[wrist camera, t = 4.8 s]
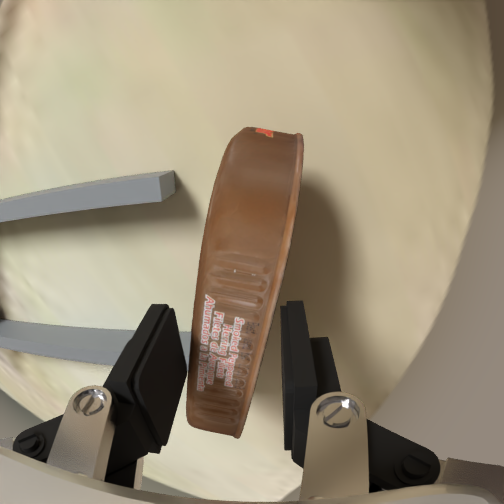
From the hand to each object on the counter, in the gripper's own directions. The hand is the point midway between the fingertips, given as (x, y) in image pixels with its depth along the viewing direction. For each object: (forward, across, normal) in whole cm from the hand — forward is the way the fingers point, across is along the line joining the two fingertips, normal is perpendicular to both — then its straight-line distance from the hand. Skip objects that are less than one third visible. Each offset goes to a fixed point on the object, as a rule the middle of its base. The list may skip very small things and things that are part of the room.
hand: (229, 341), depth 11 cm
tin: (+8, 0, +1) cm, 8 cm away
